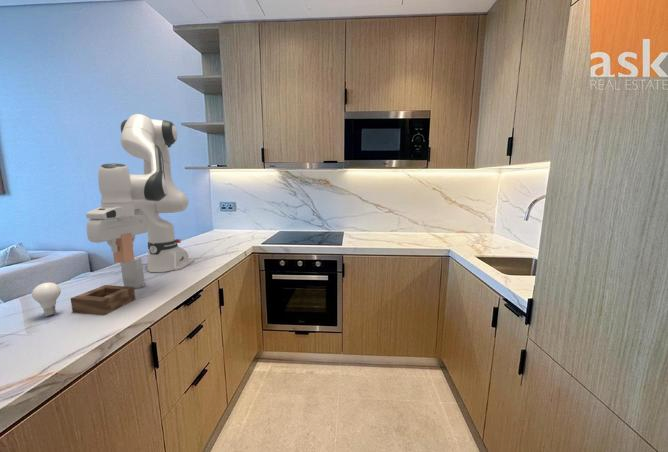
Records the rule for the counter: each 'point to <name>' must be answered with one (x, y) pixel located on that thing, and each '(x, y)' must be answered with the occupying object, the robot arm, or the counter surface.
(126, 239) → the terracotta peg
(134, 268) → the skincare box
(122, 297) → the walnut socket block
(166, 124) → the robot arm
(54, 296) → the lightbulb
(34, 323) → the counter surface
